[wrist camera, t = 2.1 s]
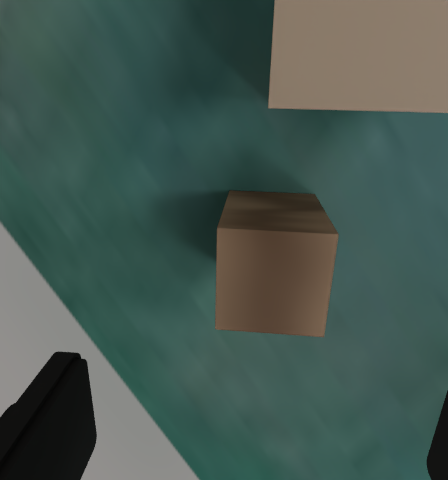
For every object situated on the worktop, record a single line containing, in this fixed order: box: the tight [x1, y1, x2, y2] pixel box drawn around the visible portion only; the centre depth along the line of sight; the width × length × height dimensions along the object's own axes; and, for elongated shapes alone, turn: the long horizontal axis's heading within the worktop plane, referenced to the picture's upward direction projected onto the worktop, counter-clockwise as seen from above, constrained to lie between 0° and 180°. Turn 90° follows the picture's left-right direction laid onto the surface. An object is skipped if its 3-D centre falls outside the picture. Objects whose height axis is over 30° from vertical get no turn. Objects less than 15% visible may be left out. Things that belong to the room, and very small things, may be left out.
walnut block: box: [215, 190, 339, 337], centre depth 19 cm, size 5×5×7 cm
